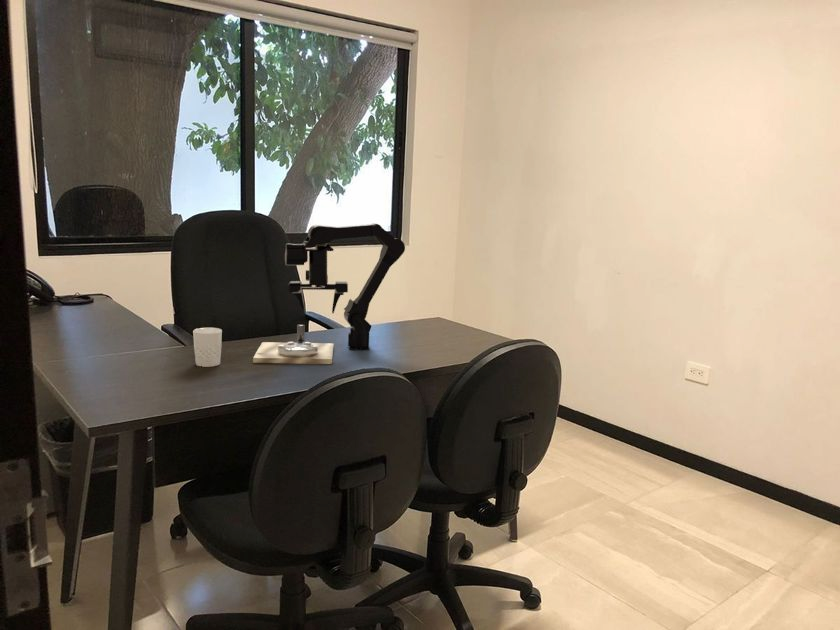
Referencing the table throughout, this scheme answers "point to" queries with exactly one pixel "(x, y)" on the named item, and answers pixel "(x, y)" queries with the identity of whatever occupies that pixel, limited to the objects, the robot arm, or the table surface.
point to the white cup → (207, 346)
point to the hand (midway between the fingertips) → (318, 313)
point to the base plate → (271, 355)
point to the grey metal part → (298, 346)
